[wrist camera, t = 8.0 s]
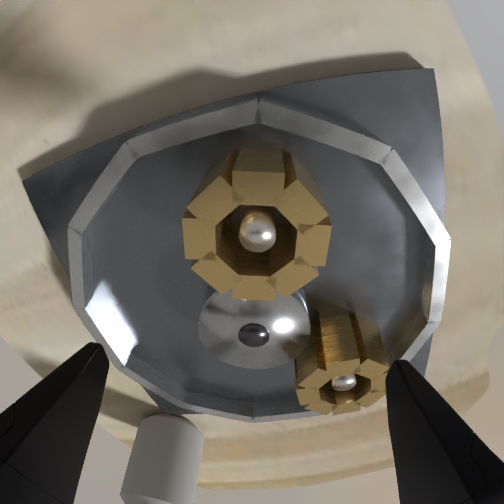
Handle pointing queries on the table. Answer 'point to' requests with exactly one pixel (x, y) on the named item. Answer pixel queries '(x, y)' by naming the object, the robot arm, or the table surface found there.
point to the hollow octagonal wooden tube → (227, 232)
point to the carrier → (256, 231)
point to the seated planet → (341, 365)
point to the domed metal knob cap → (254, 328)
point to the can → (163, 462)
